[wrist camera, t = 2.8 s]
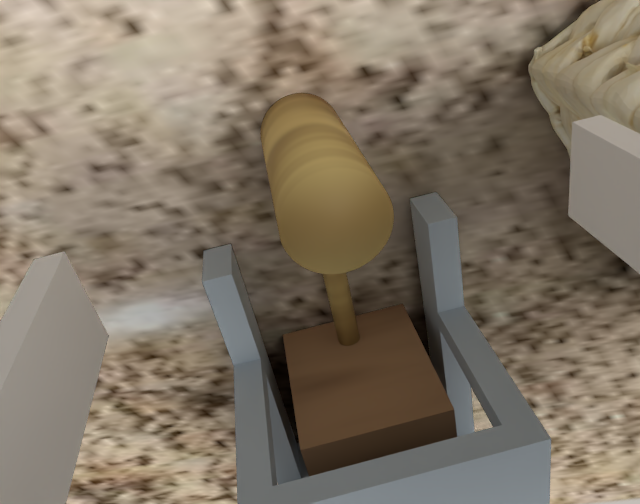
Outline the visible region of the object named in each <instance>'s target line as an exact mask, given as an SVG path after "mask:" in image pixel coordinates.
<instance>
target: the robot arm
mask: <svg viewBox="0 0 640 504" xmlns="http://www.w3.org/2000/svg"><path fill="white" fill-rule="evenodd" d="M568 216H569V217H570V218H572V219H573V220H574V221H575V222H577V223H578V224H579V225H580V226H581V227H583V228H584V229H585V230H586V231H588V232H589V233H590V234H591V235H593V236H594V237H595V238H596V239H597V240H599V241H600V242H601V243H602V244H604V245H605V246H606V247H607V248H609V249H610V250H611V251H612V252H613V253H615V254H616V255H617V256H618V257H620V258H621V259H622V260H623V261H625V262H626V263H627V264H628V265H629V266H631V267H632V268H633V269H634V270H636V271H637V272H638V273H639V274H640V134H639V133H637V132H635V131H633V130H631V129H629V128H627V127H625V126H623V125H621V124H619V123H617V122H615V121H612V120H610V119H608V118H606V117H604V116H602V115H598V116H594V117H590V118H586V119H582V120H578V121H574V122H572V138H571V161H570V184H569V207H568ZM108 337H109V335H108V334H107V332H106V330H105V328H104V326H103V324H102V322H101V320H100V318H99V316H98V314H97V312H96V311H95V309H94V307H93V305H92V303H91V301H90V299H89V297H88V295H87V293H86V291H85V289H84V288H83V286H82V284H81V282H80V280H79V278H78V276H77V274H76V272H75V270H74V268H73V266H72V265H71V263H70V261H69V259H68V257H67V255H66V253H65V251H64V252H60V253H56V254H52V255H49V256H45V257H41V258H37V259H34V260H33V262H32V264H31V265H30V267H29V269H28V271H27V273H26V275H25V277H24V278H23V280H22V282H21V284H20V286H19V288H18V289H17V291H16V293H15V295H14V297H13V299H12V301H11V302H10V304H9V306H8V308H7V310H6V312H5V314H4V315H3V317H2V319H1V321H0V504H66V501H67V497H68V493H69V489H70V485H71V481H72V477H73V473H74V469H75V465H76V462H77V458H78V454H79V450H80V446H81V442H82V438H83V434H84V430H85V426H86V423H87V419H88V415H89V411H90V407H91V403H92V399H93V395H94V391H95V387H96V383H97V380H98V376H99V372H100V368H101V364H102V360H103V356H104V352H105V348H106V344H107V341H108Z"/></svg>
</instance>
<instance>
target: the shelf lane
mask: <svg viewBox="0 0 640 504" xmlns="http://www.w3.org/2000/svg"><path fill="white" fill-rule="evenodd" d="M410 205H411V213H412V220H413V228H414V236H415V244H416V251H417V259H418V267H419V275H420V282H421V290H422V298H423V306H424V313H425V321H426V329H427V337H428V345H429V352H430V360H431V363H432V365H433V367H434V369H435V371H436V373H437V375H438V377H439V379H440V381H441V383H442V385H443V387H444V389H445V391H446V393H447V395H448V397H449V400H450V402H451V404H452V406H453V408H454V411H455V420H456V430H457V437H455V438H451V439H448V440H444V441H440V442H436V443H433V444H429V445H425V446H421V447H418V448H414V449H410V450H406V451H403V452H399V453H395V454H391V455H388V456H384V457H380V458H376V459H373V460H369V461H365V462H361V463H358V464H354V465H350V466H346V467H343V468H339V469H335V470H331V471H328V472H324V473H320V474H317V475H313V476H309V475H308V472H307V469H306V466H305V463H304V460H303V457H302V453H301V450H300V444H299V443H296V440H295V437H294V434H293V431H292V428H291V425H290V422H289V419H288V416H287V412H286V409H285V406H284V403H283V400H282V397H281V394H280V391H279V388H278V385H277V382H276V379H275V376H274V373H273V370H272V367H271V364H270V361H269V358H268V355H267V352H266V349H265V346H264V343H263V340H262V337H261V334H260V331H259V328H258V325H257V322H256V319H255V315H254V312H253V309H252V306H251V303H250V300H249V297H248V294H247V291H246V288H245V285H244V282H243V279H242V276H241V273H240V270H239V267H238V264H237V261H236V258H235V255H234V252H233V249H232V246H231V244H228V245H224V246H220V247H216V248H212V249H208V250H204V254H203V272H202V283H203V286H204V288H205V291H206V294H207V296H208V299H209V302H210V304H211V307H212V310H213V312H214V315H215V318H216V320H217V323H218V326H219V328H220V331H221V334H222V336H223V339H224V342H225V344H226V347H227V350H228V352H229V355H230V357H231V360H232V363H233V365H234V396H235V431H236V466H237V501H238V504H550V463H551V438H550V436H549V435H548V433H547V432H546V430H545V429H544V427H543V426H542V424H541V423H540V421H539V420H538V418H537V416H536V415H535V413H534V412H533V410H532V409H531V407H530V406H529V404H528V403H527V401H526V400H525V398H524V397H523V395H522V394H521V392H520V390H519V389H518V387H517V386H516V384H515V383H514V381H513V380H512V378H511V377H510V375H509V374H508V372H507V371H506V369H505V368H504V366H503V364H502V363H501V361H500V360H499V358H498V357H497V355H496V354H495V352H494V351H493V349H492V348H491V346H490V345H489V343H488V341H487V340H486V338H485V337H484V335H483V334H482V332H481V331H480V329H479V328H478V326H477V325H476V323H475V322H474V320H473V319H472V317H471V315H470V314H469V312H468V311H467V309H466V308H465V306H464V296H463V284H462V272H461V260H460V247H459V235H458V223H457V216H456V215H455V214H454V213H453V211H452V210H451V209H450V208H449V207H448V205H447V204H446V203H445V202H444V201H443V199H442V198H441V197H440V196H439V195H438V193H437V192H434V193H430V194H426V195H422V196H418V197H414V198H410ZM471 387H472V389H473V391H474V393H475V395H476V396H477V398H478V400H479V402H480V404H481V406H482V407H483V409H484V411H485V413H486V415H487V416H488V418H489V420H490V422H491V424H492V425H493V427H492V428H489V429H485V430H481V431H477V432H474V420H473V407H472V395H471ZM277 482H278V485H277Z"/></svg>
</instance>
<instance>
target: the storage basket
mask: <svg viewBox="0 0 640 504" xmlns="http://www.w3.org/2000/svg"><path fill="white" fill-rule="evenodd" d="M528 71H529V74H530V77H531V84H532V87H533V90H534V93H535V95H536V96H537V98H538V100H539V101H540V103H541V105H542V106H543V108H544V109H545V110H546V111H547V112H548V114H549V116H550V122H551V125H552V127H553V129H554V131H555V132H556V134H557V135H558V137H559V138H560V140H561V141H562V142H563V144H564V145H565V146H566V148H567V151H568V154H569V157H570V160H571V138H572V122H574V121H578V120H582V119H586V118H590V117H594V116H598V115H602V116H604V117H606V118H608V119H610V120H612V121H615V122H617V123H619V124H621V125H623V126H625V127H627V128H629V129H631V130H633V131H635V132H637V133H639V134H640V0H600V1H599V2H597V3H596V4H593V5H591V6H590V7H589V8H588V9H586V10H585V11H584V12H583V13H582V14H581V15H580V16H579V18H578V19H577V20H576V21H575V22H573V23H572V24H571V25H570V26H568V27H567V28H566V29H564V30H563V31H562V32H560V33H559V34H558V35H557V36H555V37H554V38H553V39H552V40H550V41H549V42H548V43H547V44H545V45H543V46H542V47H537V48H536V49H535V50H534V57H533V58H532V60H531V62H530V64H529V65H528ZM635 271H636V270H635ZM636 272H637V271H636ZM637 273H638V272H637ZM638 274H639V273H638Z"/></svg>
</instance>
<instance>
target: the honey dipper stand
mask: <svg viewBox="0 0 640 504" xmlns="http://www.w3.org/2000/svg"><path fill="white" fill-rule="evenodd" d="M260 134H261V142H262V147H263V153H264V158H265V163H266V168H267V174H268V179H269V184H270V189H271V194H272V200H273V205H274V210H275V215H276V220H277V226H278V231H279V236H280V240H281V243H282V245H283V247H284V249H285V251H286V252H287V254H288V255H289V256H290V257H291V258H292V259H293V260H294V261H295V262H296V263H297V264H299V265H300V266H302V267H303V268H305V269H308V270H310V271H313V272H317V273H322V274H323V278H324V282H325V287H326V291H327V295H328V299H329V303H330V308H331V312H332V316H333V320H334V322H330V323H326V324H322V325H318V326H314V327H310V328H307V329H303V330H299V331H295V332H291V333H287V334H283V340H284V346H285V353H286V359H287V366H288V372H289V379H290V385H291V392H292V398H293V405H294V411H295V418H296V424H297V431H298V438H299V444H300V450H301V453H302V457H303V460H304V463H305V466H306V469H307V472H308V475H309V476H313V475H317V474H320V473H324V472H328V471H331V470H335V469H339V468H343V467H346V466H350V465H354V464H358V463H361V462H365V461H369V460H373V459H376V458H380V457H384V456H388V455H391V454H395V453H399V452H403V451H406V450H410V449H414V448H418V447H421V446H425V445H429V444H433V443H436V442H440V441H444V440H448V439H451V438H455V437H457V430H456V420H455V411H454V408H453V406H452V404H451V402H450V400H449V397H448V395H447V393H446V391H445V389H444V387H443V385H442V383H441V381H440V379H439V377H438V375H437V373H436V371H435V369H434V367H433V365H432V363H431V361H430V359H429V357H428V355H427V352H426V350H425V348H424V346H423V344H422V342H421V340H420V338H419V336H418V334H417V332H416V330H415V328H414V326H413V324H412V322H411V320H410V318H409V316H408V314H407V312H406V310H405V307H404V305H403V304H399V305H396V306H392V307H388V308H384V309H380V310H376V311H372V312H368V313H365V314H361V315H357V316H355V312H354V307H353V303H352V298H351V293H350V288H349V284H348V279H347V274H346V272H349V271H352V270H355V269H357V268H360V267H362V266H363V265H365V264H367V263H368V262H370V261H371V260H372V259H373V258H374V257H376V256H377V255H378V254H379V252H380V251H381V250H382V249H383V248H384V246H385V245H386V243H387V241H388V239H389V237H390V234H391V232H392V228H393V222H394V212H393V206H392V203H391V200H390V197H389V196H388V194H387V192H386V191H385V189H384V187H383V186H382V184H381V183H380V181H379V180H378V178H377V176H376V175H375V173H374V172H373V170H372V169H371V167H370V165H369V164H368V162H367V161H366V159H365V158H364V156H363V154H362V153H361V151H360V150H359V148H358V147H357V145H356V143H355V142H354V140H353V139H352V137H351V136H350V134H349V132H348V131H347V129H346V128H345V126H344V125H343V123H342V121H341V120H340V118H339V117H338V115H337V114H336V112H335V110H334V109H333V108H332V107H331V105H330V104H329V103H328V102H326V101H325V100H323V99H322V98H320V97H318V96H315V95H312V94H307V93H296V94H291V95H288V96H286V97H283V98H281V99H280V100H278V101H277V102H276V103H274V104H273V105H272V106H271V107H270V109H269V110H268V111H267V113H266V115H265V117H264V119H263V121H262V125H261V133H260Z"/></svg>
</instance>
